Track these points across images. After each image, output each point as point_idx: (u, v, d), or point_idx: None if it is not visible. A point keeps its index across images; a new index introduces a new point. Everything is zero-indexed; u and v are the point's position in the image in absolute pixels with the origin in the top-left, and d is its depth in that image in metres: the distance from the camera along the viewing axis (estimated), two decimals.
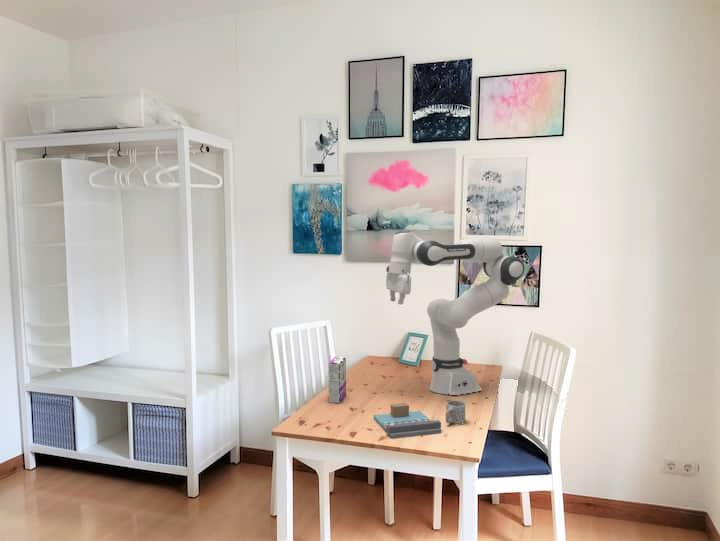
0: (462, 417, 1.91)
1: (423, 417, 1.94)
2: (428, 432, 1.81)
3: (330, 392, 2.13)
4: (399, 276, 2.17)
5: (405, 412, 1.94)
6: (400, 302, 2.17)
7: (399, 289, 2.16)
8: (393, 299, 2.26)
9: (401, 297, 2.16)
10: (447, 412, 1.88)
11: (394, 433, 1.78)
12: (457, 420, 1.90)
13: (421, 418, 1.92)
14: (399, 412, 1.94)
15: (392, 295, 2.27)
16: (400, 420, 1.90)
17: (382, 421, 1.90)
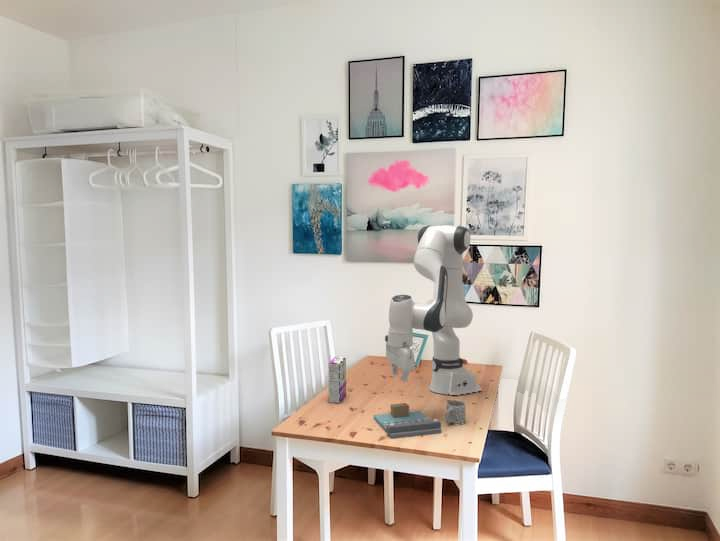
0: (462, 417, 1.91)
1: (423, 417, 1.94)
2: (428, 432, 1.81)
3: (330, 392, 2.13)
4: (400, 350, 1.88)
5: (405, 412, 1.94)
6: (404, 379, 1.89)
7: (401, 366, 1.87)
8: (395, 372, 1.98)
9: (404, 374, 1.88)
10: (447, 412, 1.88)
11: (394, 433, 1.78)
12: (457, 420, 1.90)
13: (421, 418, 1.92)
14: (399, 412, 1.94)
15: (394, 368, 1.99)
16: (400, 420, 1.90)
17: (382, 421, 1.90)
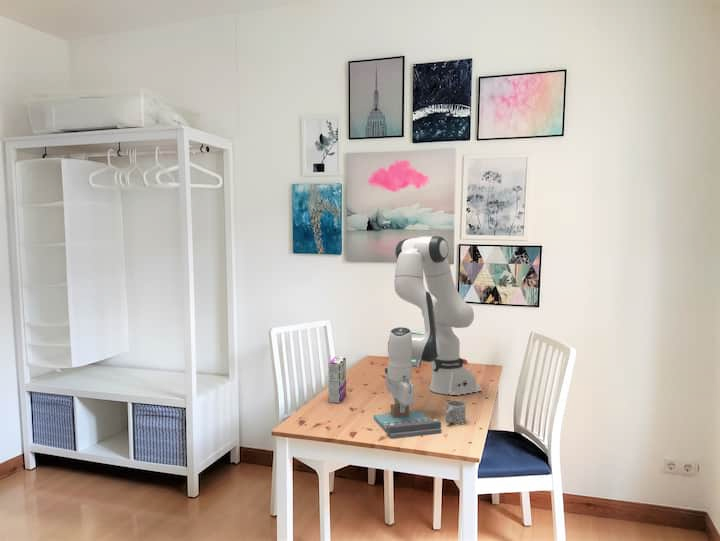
0: (462, 417, 1.91)
1: (423, 417, 1.94)
2: (428, 432, 1.81)
3: (330, 392, 2.13)
4: (400, 384, 1.89)
5: (405, 412, 1.94)
6: (401, 410, 1.92)
7: (401, 399, 1.88)
8: None
9: (402, 405, 1.91)
10: (447, 412, 1.88)
11: (394, 433, 1.78)
12: (457, 420, 1.90)
13: (421, 418, 1.92)
14: (399, 412, 1.94)
15: (396, 401, 1.97)
16: (400, 420, 1.90)
17: (382, 421, 1.90)
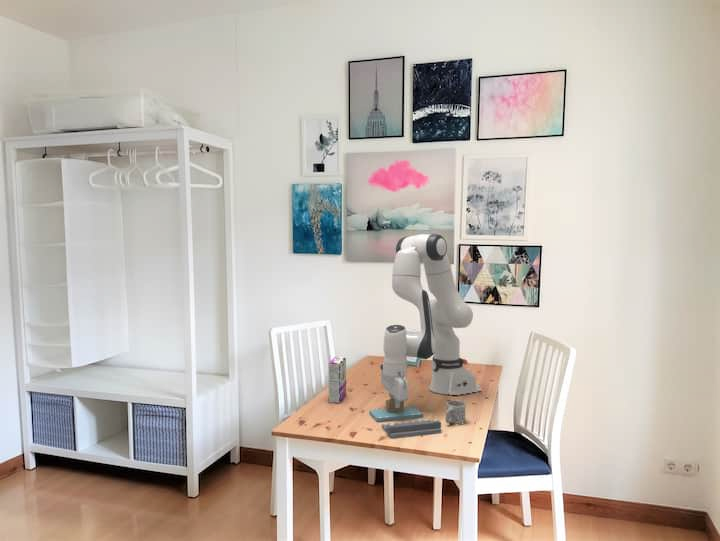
0: (462, 417, 1.91)
1: (417, 412, 1.99)
2: (428, 432, 1.81)
3: (330, 392, 2.13)
4: (395, 379, 1.94)
5: (400, 407, 1.99)
6: (396, 406, 1.97)
7: (396, 395, 1.93)
8: None
9: (397, 401, 1.96)
10: (447, 412, 1.88)
11: (394, 433, 1.78)
12: (457, 420, 1.90)
13: (415, 413, 1.98)
14: (394, 407, 1.99)
15: (392, 397, 2.03)
16: (395, 415, 1.95)
17: (377, 415, 1.95)
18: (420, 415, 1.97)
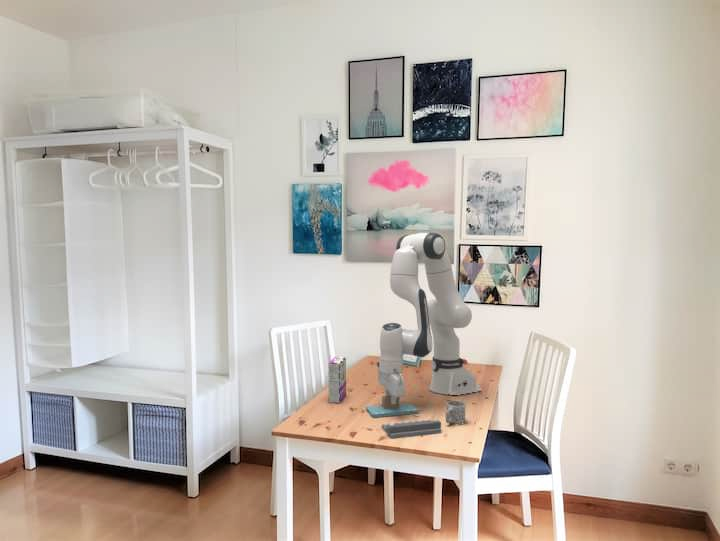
0: (462, 417, 1.91)
1: (413, 408, 2.03)
2: (428, 432, 1.81)
3: (330, 392, 2.13)
4: (391, 376, 1.99)
5: None
6: (392, 402, 2.02)
7: (392, 391, 1.98)
8: None
9: (393, 397, 2.01)
10: (447, 412, 1.88)
11: (394, 433, 1.78)
12: (457, 420, 1.90)
13: (411, 409, 2.02)
14: (390, 403, 2.03)
15: (388, 393, 2.07)
16: (391, 411, 2.00)
17: (373, 411, 1.99)
18: (415, 411, 2.01)
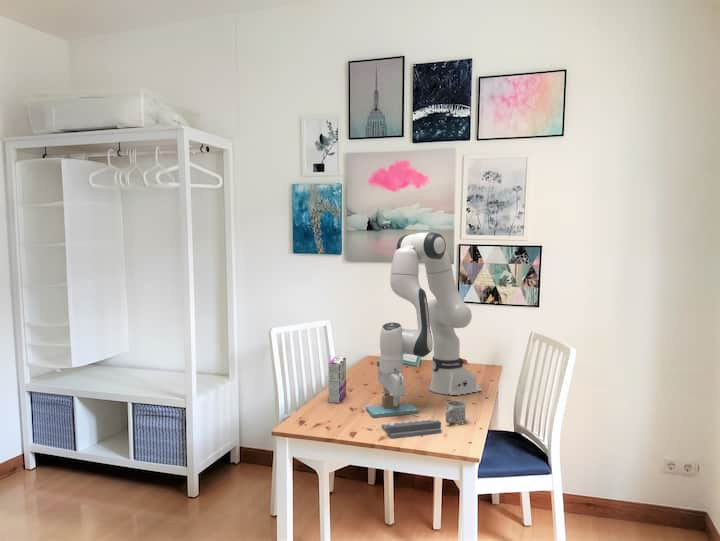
0: (462, 417, 1.91)
1: (413, 408, 2.03)
2: (428, 432, 1.81)
3: (330, 392, 2.13)
4: (391, 376, 1.99)
5: None
6: (395, 403, 1.99)
7: (392, 391, 1.98)
8: None
9: (395, 399, 1.98)
10: (447, 412, 1.88)
11: (394, 433, 1.78)
12: (457, 420, 1.90)
13: (411, 409, 2.02)
14: (390, 403, 2.03)
15: (386, 391, 2.09)
16: (391, 411, 2.00)
17: (373, 411, 1.99)
18: (415, 411, 2.01)
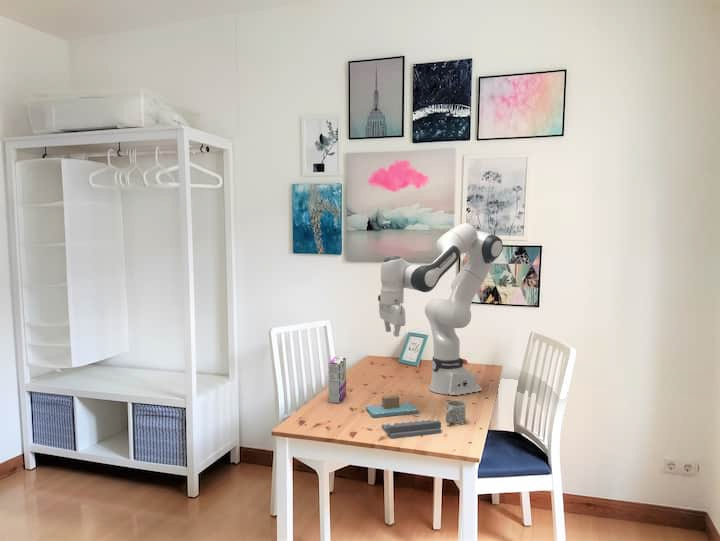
0: (462, 417, 1.91)
1: (413, 408, 2.03)
2: (428, 432, 1.81)
3: (330, 392, 2.13)
4: (392, 307, 2.02)
5: (395, 403, 2.04)
6: (396, 334, 2.02)
7: (393, 321, 2.01)
8: (388, 329, 2.12)
9: (396, 329, 2.02)
10: (447, 412, 1.88)
11: (394, 433, 1.78)
12: (457, 420, 1.90)
13: (411, 409, 2.02)
14: (390, 403, 2.03)
15: (387, 325, 2.12)
16: (391, 411, 2.00)
17: (373, 411, 1.99)
18: (415, 411, 2.01)
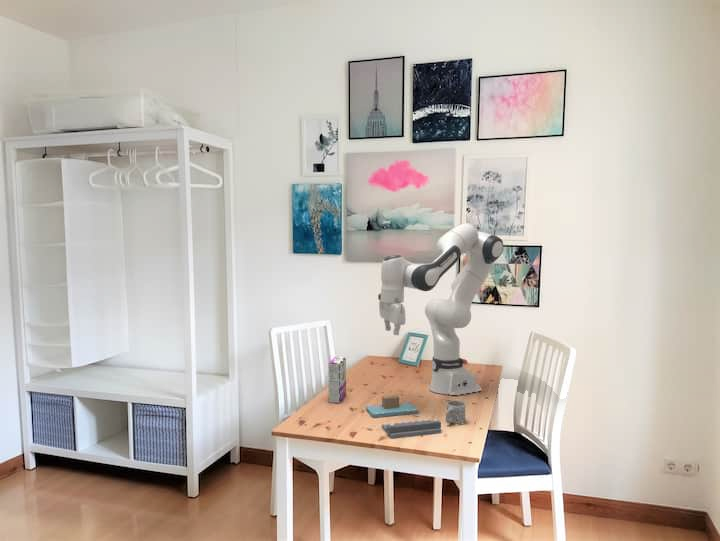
0: (462, 417, 1.91)
1: (413, 408, 2.03)
2: (428, 432, 1.81)
3: (330, 392, 2.13)
4: (392, 305, 2.02)
5: (395, 403, 2.04)
6: (396, 333, 2.02)
7: (393, 320, 2.01)
8: (388, 328, 2.12)
9: (396, 328, 2.02)
10: (447, 412, 1.88)
11: (394, 433, 1.78)
12: (457, 420, 1.90)
13: (411, 409, 2.02)
14: (390, 403, 2.03)
15: (387, 324, 2.12)
16: (391, 411, 2.00)
17: (373, 411, 1.99)
18: (415, 411, 2.01)
